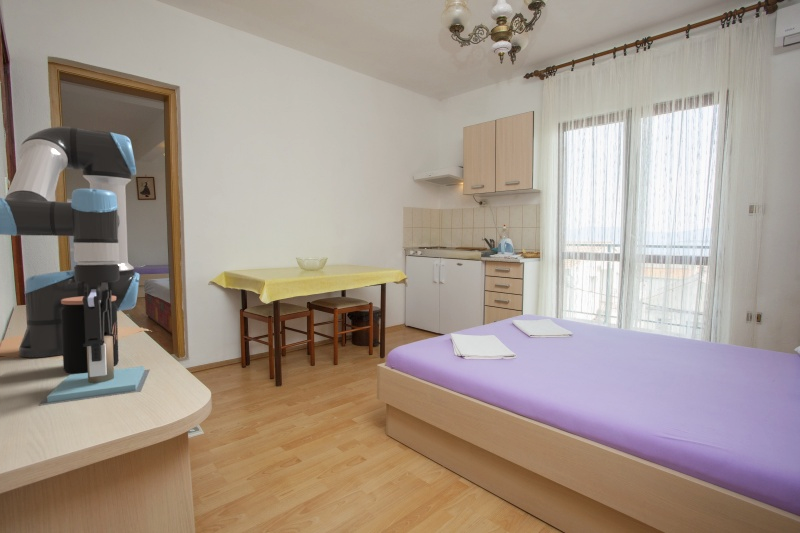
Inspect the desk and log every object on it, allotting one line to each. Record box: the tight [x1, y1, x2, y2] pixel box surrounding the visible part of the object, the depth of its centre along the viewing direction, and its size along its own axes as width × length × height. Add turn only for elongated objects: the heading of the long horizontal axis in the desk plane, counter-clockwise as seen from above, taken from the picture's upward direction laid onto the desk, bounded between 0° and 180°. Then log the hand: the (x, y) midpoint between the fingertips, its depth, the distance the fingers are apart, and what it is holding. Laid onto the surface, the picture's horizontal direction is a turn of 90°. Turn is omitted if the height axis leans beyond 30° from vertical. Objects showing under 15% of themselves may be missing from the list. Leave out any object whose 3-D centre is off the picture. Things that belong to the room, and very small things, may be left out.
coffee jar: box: [61, 296, 120, 375], centre depth 95 cm, size 11×11×18 cm
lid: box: [46, 336, 146, 403], centre depth 83 cm, size 14×14×10 cm
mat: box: [38, 369, 151, 407], centre depth 83 cm, size 16×16×1 cm
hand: (101, 371), depth 83 cm, fingers closed on lid, 4 cm apart
